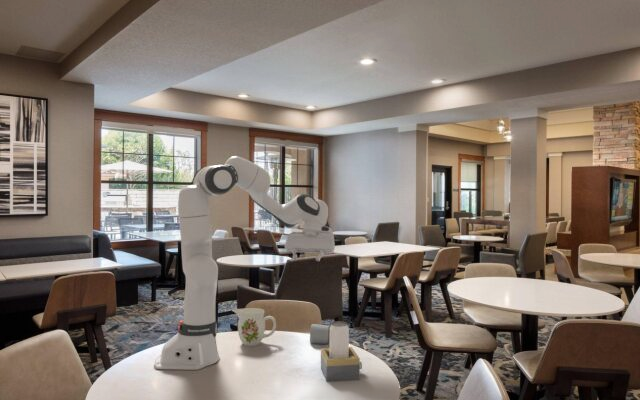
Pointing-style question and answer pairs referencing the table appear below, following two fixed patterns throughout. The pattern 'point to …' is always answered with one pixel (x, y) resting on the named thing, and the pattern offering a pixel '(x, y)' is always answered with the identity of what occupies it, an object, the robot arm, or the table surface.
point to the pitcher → (252, 325)
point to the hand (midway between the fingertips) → (305, 259)
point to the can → (339, 340)
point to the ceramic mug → (319, 334)
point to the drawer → (340, 366)
